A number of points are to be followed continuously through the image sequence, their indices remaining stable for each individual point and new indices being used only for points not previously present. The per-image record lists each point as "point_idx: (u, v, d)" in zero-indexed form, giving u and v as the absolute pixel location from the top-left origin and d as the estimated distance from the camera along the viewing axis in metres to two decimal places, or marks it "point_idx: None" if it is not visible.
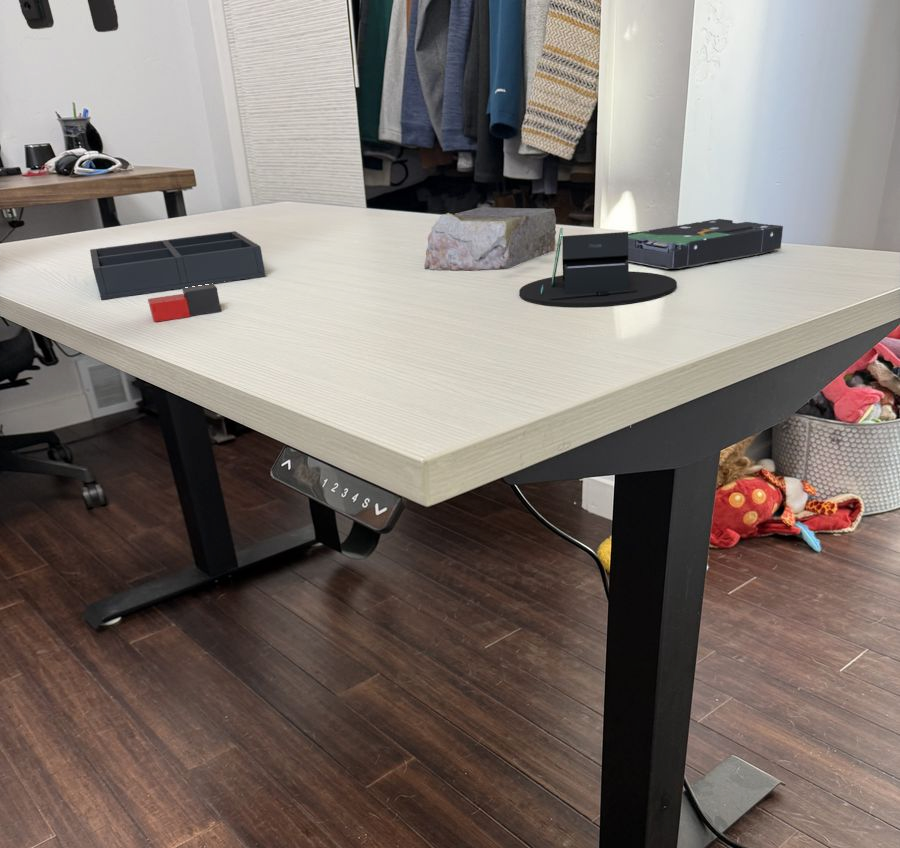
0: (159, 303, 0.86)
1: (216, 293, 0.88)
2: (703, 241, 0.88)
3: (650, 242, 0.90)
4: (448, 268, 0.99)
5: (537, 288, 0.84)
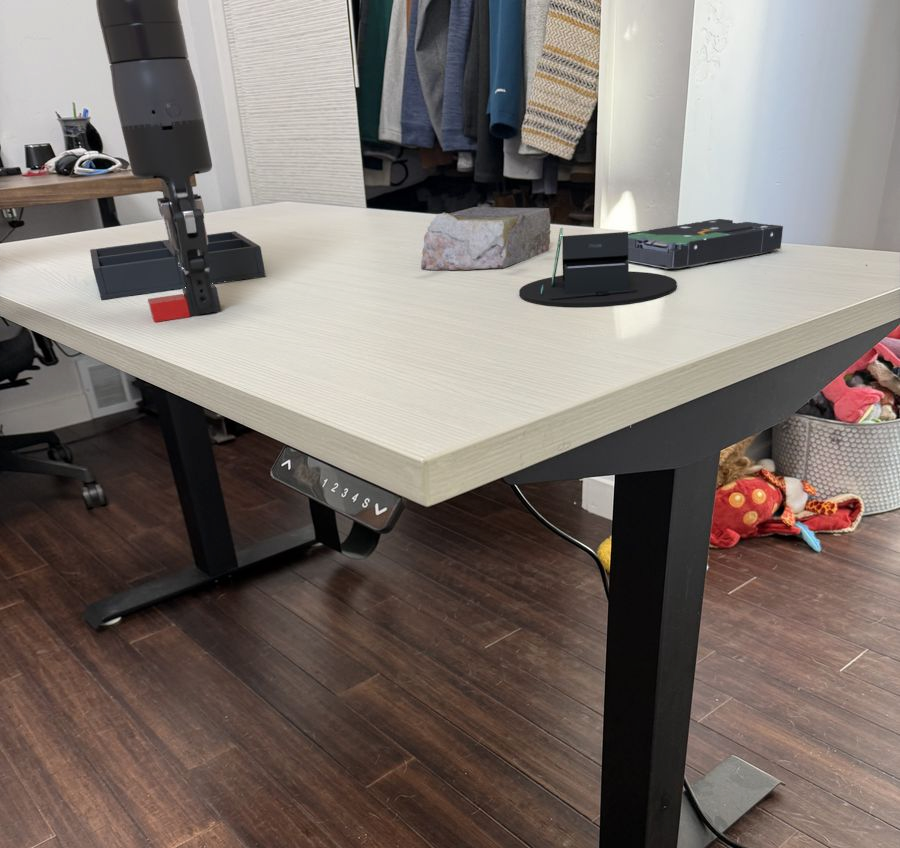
0: (159, 303, 0.86)
1: (216, 293, 0.88)
2: (703, 241, 0.88)
3: (650, 242, 0.90)
4: (445, 268, 0.99)
5: (537, 288, 0.84)
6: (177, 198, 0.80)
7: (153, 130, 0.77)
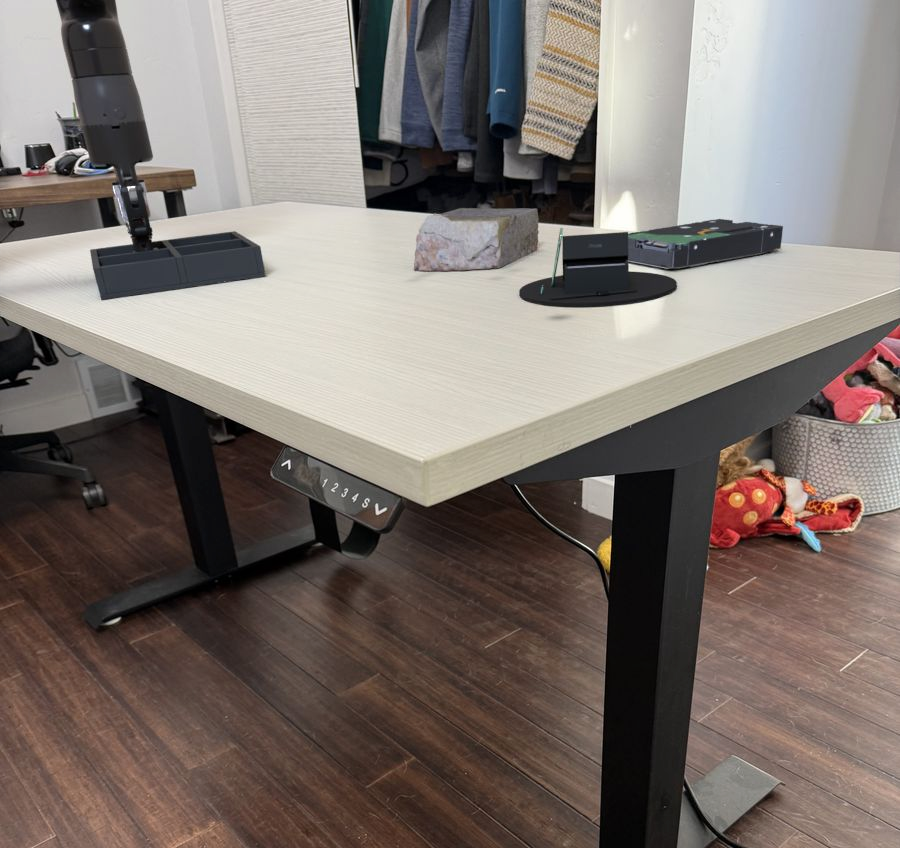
0: None
1: None
2: (703, 241, 0.88)
3: (650, 242, 0.90)
4: (439, 269, 0.99)
5: (537, 288, 0.84)
6: (124, 179, 1.04)
7: (105, 129, 1.02)
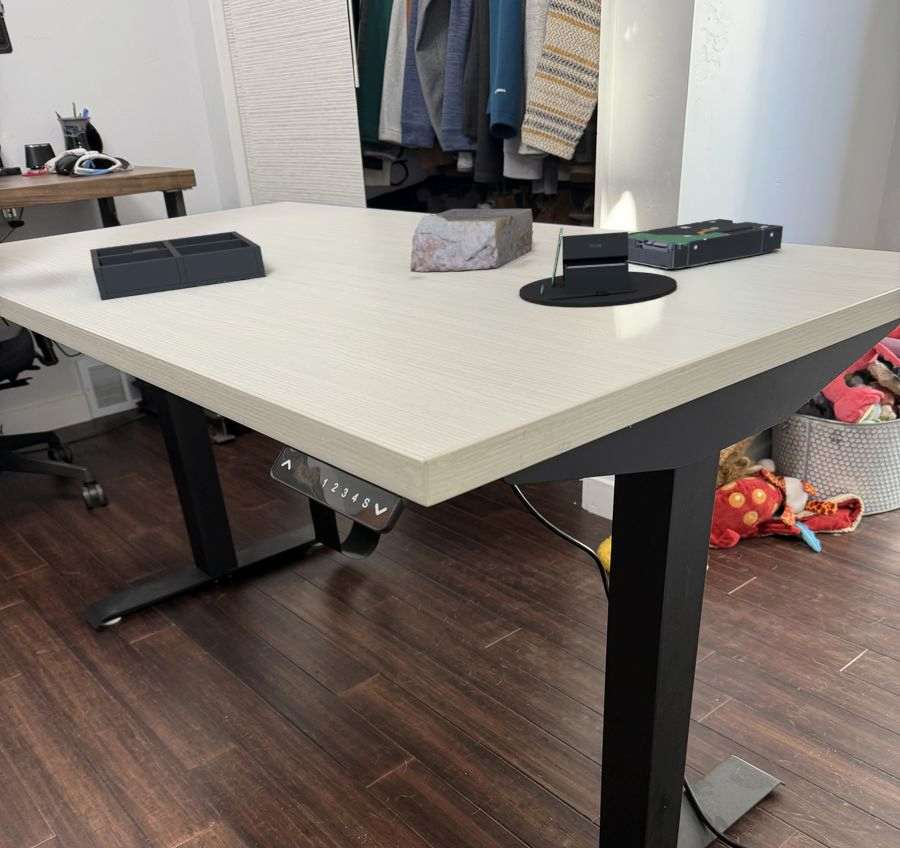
0: None
1: None
2: (703, 241, 0.88)
3: (650, 242, 0.90)
4: (436, 269, 0.99)
5: (537, 288, 0.84)
6: None
7: None
